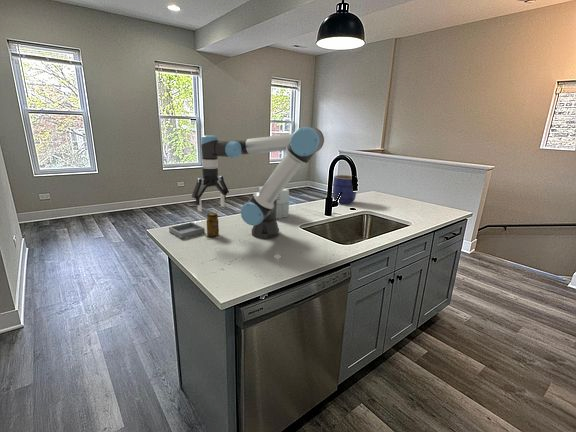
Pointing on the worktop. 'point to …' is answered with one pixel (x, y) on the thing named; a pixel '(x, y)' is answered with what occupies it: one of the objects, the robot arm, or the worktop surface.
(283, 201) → the supplement box
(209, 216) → the condiment
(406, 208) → the worktop surface
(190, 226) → the bin
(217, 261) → the worktop surface
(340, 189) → the planter
